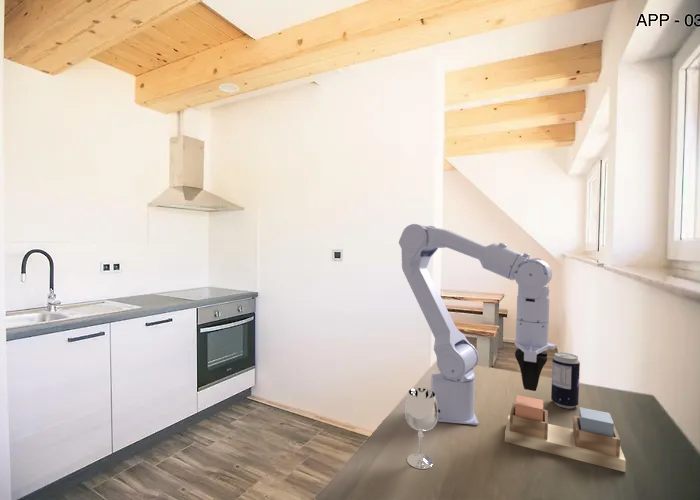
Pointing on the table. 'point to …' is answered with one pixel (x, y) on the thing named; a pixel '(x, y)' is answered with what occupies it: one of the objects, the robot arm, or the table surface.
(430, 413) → the wineglass
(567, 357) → the beverage can
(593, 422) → the slate key
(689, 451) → the table surface
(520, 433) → the wooden socket board
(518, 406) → the terracotta key
